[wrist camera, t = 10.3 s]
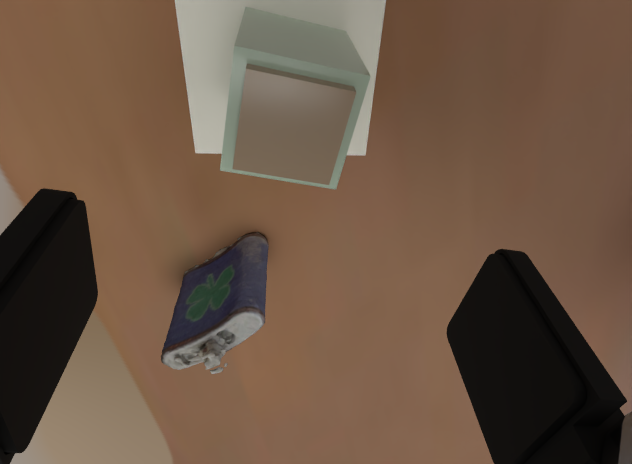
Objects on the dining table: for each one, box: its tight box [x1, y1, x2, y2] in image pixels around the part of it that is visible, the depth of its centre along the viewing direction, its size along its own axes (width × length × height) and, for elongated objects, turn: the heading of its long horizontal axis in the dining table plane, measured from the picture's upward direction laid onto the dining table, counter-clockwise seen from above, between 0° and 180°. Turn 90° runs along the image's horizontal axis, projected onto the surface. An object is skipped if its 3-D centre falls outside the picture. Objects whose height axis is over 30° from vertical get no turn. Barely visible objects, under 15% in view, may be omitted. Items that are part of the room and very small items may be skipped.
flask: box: [161, 232, 269, 374], centre depth 33 cm, size 9×3×11 cm, turn 124°
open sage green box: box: [220, 7, 371, 189], centre depth 19 cm, size 5×5×8 cm
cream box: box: [175, 0, 386, 155], centre depth 25 cm, size 10×10×6 cm
